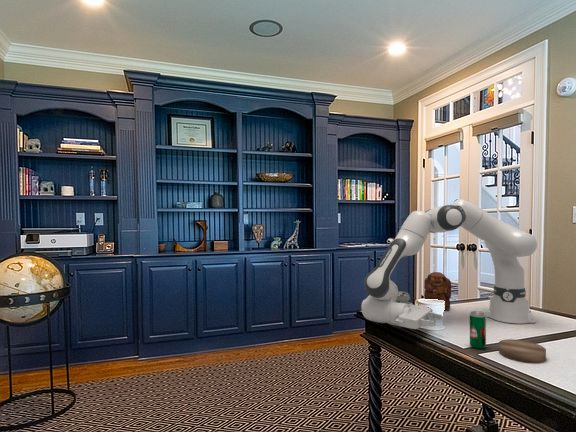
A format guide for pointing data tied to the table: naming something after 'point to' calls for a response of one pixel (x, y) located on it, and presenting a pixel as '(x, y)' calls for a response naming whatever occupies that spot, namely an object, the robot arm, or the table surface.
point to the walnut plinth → (522, 351)
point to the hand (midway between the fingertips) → (438, 320)
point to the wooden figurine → (438, 288)
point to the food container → (403, 297)
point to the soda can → (477, 330)
